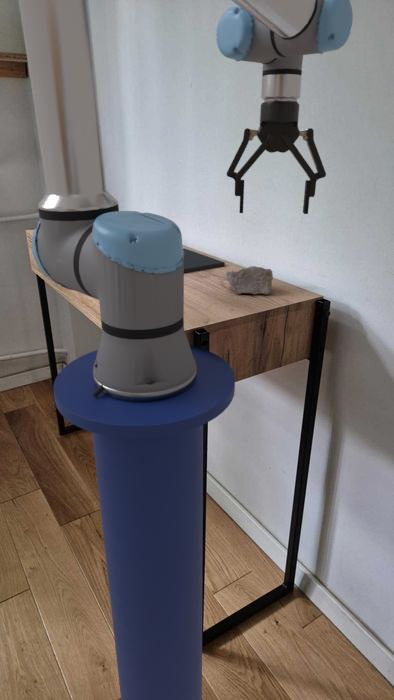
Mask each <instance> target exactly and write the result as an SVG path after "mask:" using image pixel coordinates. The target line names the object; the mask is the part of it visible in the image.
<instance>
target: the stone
mask: <svg viewBox="0 0 394 700" xmlns="http://www.w3.org/2000/svg"><path fill="white" fill-rule="evenodd" d="M225 277H226V280H227V282H228V284H229V288H230V289H231V290H232V291H233V292H234V293H235V294H237V295H241V294H251V295H261V294H263V295H269V294H270V293H271V290H272V288H273V284H272V283H273V280H274V274H273V271H272V269H270V268H265V267H262V266H261V267H260V266H254V265H253V266H252V265H251V266H249V267H245V268H241V269H239V270H238V271H237V270H236V271H234V270H230V271H228V270H227V271H226V272H225Z"/></svg>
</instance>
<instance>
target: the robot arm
mask: <svg viewBox="0 0 394 700" xmlns="http://www.w3.org/2000/svg"><path fill="white" fill-rule="evenodd" d="M230 1H231V2H233V3H234V4H235V5H237V6H230V7H228V8H227V9H226V10H225V11H224V12H223V13H222V14H221V16H220V18H219V20H218V23H217V25H216V35H215V37H216V45H217V48H218V51H219V52H220V54H221V55H222V56H223V57H225V58H227V59H230V60H234V61H235V62H248V63H249V62H250V63H256V64H257V63H258V64H262V71H261V72H262V74H261V92H260V93H261V96H260V98H261V100H263V102H261V104H260V111H259V113H260V114H259V127H258V129H250V128H247V127H246V128H245V129H244V131H243V137H242V141H241V143H240V144H239V147H238V148H237V151H236V153H235V155H234V157H233V159H232V161H231V163H230V166H229V167H228V169H227V171H226V177H228V178H231V179H233V180H234V195H235V197H239V214H243V213H244V199H245V198H244V197H245V179H242V178H243V177H244V176H245V175H246V173H247V172H248V171H249V170H250V169H251V168H252V166H253V165H254V164H255V163H256V161H257V160H258V159H259V158H260V157H261V155H262V154H264V152H265V151H266V152H268V153H271V154H272V153H273V154H274V153H287V152H290V154H291V155H292V156H293V158H294V159H295V160H296V162H297V163H298V164H299V166H300V167H301V169H302V170H303V172H304V173H305V174H306V176H307V178H308V179H305V181H304V183H305V184H304V195H303V203H302V204H303V206H302V213H303V214H304V215H309V205H310V198H314V197H315V196H316V187H317V181H318V180H320V179H324V178H325V177H326V176H327V172H326V169H325V167H324V164H323V161H322V159H321V156H320V154H319V151H318V148H317V145H316V142H315V140H314V139H315V136H314V135H315V131H314V129H313V128H311V127H309V128H307V129H299V116H300V115H299V114H300V104H299V102H298V100H300V98H301V91H302V77H303V76H302V74H303V71H302V69H303V61H304V60H303V59H304V56H307V55H317V54H319V55H323V54H324V53H327V52H328V53H329V52H333V51H338V50H339V49H340V50H341V48H343V47H344V46H345V45H346V43H347V41H348V40H349V38H350V35H351V30H352V27H353V21H354V19H353V18H354V15H353V13H354V12H353V6H352V2H351V0H230ZM18 4H19V12H20V19H21V25H22V26H21V27H22V32H23V39H24V46H25V53H26V58H27V67H28V72H29V81H30V86H31V93H32V94H31V95H32V101H33V105H34V106H33V107H34V113H35V114H34V115H35V121H36V127H37V133H38V141H39V149H40V155H41V162H42V168H43V176H44V182H45V189H46V192H45V194H44V196H43V198H41V200H40V201H39V202H38V204H37V211H38V215H39V221H38V222H37V226H36V227H35V228H33V232H32V235H31V251H32V256H33V259H34V261H35V264H36V265H37V267H38V268H39V270H40V271H41V272H42V274H43V275H44V276H45V277H47V278H48V279H50V280H51V281H53V282H54V283H55V284H57V285H58V286H60V287H62V288H65V289H67V290H70V291H75V292H77V293H80V294H82V295H85V296H88V297H90V298H93V299H95V300H98V301H99V312H100V323H101V335H100V339H99V343H98V347H97V350H98V351H97V357H96V360H95V363H94V367H93V379H94V385H95V387H96V388H97V390H96V391H95V392H94V393H93V394H92V395H93V396H94V397H97V396H98V395H99V394H100V393H102V394H104V395H106V396H108V397H110V398H113V399H117V400H121V401H127V402H154V401H160V400H165V399H169V398H172V397H175V396H177V395H180V394H182V393H184V392H185V391H187V390H188V389H189V388H191V387H192V386H193V384H194V383H195V381H196V378H197V367H196V361H195V359H194V357H193V355H192V352H191V348H190V345H191V344H190V342H189V338H188V337H187V334H186V330H185V323H184V322H185V321H184V319H185V317H184V316H185V315H184V312H185V310H184V307H185V304H184V303H185V302H184V301H185V296H184V295H185V294H184V293H185V273H184V250H183V249H184V248H183V236H182V231H181V229H180V227H179V226H178V224H176V223H175V222H174V221H173V220H171V219H169V218H167V217H165V216H163V215H160V214H156V213H153V212H152V213H151V212H140V211H136V210H120V209H119V208H120V207H119V200H118V199H117V198H116V197H115V196H114V195H113V194H112V193H111V192H110V191H109V190H108V189H107V188H108V187H107V180H106V179H107V178H106V169H105V159H104V148H103V137H102V136H103V135H102V127H101V117H100V105H99V94H98V83H97V75H96V63H95V53H94V43H93V30H92V22H91V21H92V20H91V12H90V11H91V10H90V1H89V0H18ZM254 137H257V138H258V141H259V142H260V143H261V144H260V145H259V146H258V147H257V149H256V150H255V151H254V152H253V153H252V155H251V156H250V157H249V158H248V160H247V161H246V162H245V163H244V164H243V166H242V167H241V168H240V169H239V170H238V171H237V172H236V169H237V167H238V165H239V163H240V161H241V158H242V157H243V155H244V152H245V151H246V148H247V146H248V144H249V142H251V141H253V140H254ZM299 137H301V138H302V141H305V142H306V146H307V148H308V151H309V153H310V156H311V159H312V161H313V164H314V167H315V170H316V172H314V171H313V169H312V167H311V166H310V165H309V163H308V162H307V161H306V159H305V158H304V157H303V155H302V153H301V152H300V150H299V148H297V146H296V145H295V143H296V141H297V140H298V139H299Z"/></svg>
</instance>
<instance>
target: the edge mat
mask: <svg viewBox="0 0 394 700" xmlns="http://www.w3.org/2000/svg"><path fill="white" fill-rule="evenodd" d="M183 250H184V274H185V273H193V272H197V271H203V270H209V269H216V268H222V267H225V265H226V264H225V263H226V262H225V261H222V260H219V259H216V258H215V257H214V258H213V257H210V256H208V255H205V254H202V253H199V252H196V251H193V250H190V249H187V248H185V247H184V248H183Z"/></svg>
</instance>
